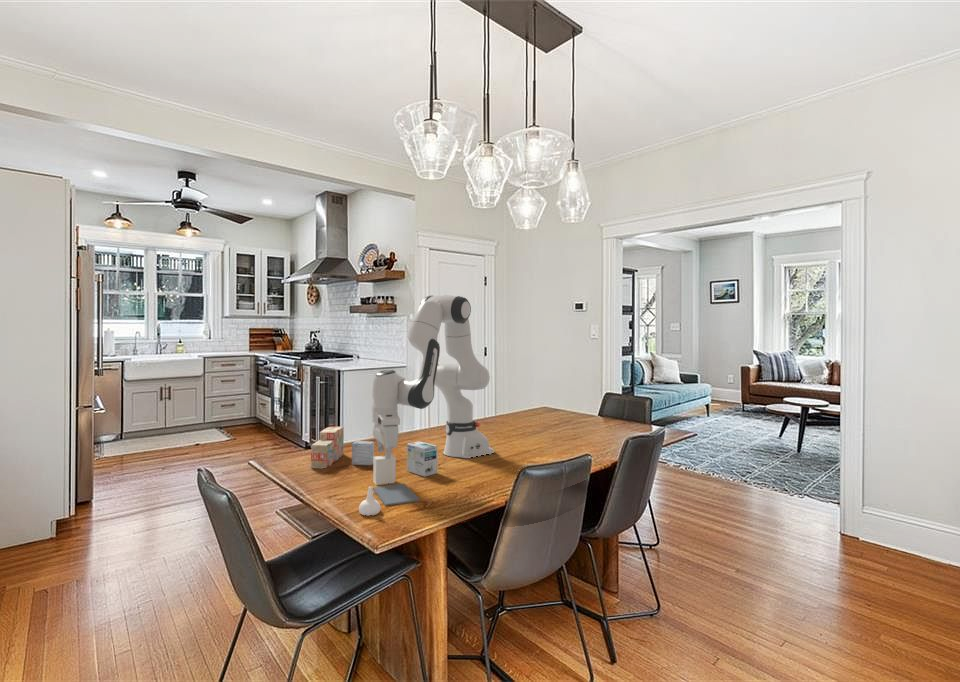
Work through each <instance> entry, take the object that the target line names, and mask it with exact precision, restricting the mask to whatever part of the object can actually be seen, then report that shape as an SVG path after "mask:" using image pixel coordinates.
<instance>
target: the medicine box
mask: <svg viewBox="0 0 960 682" xmlns="http://www.w3.org/2000/svg"><path fill="white" fill-rule="evenodd" d="M373 457H375V442H374V441H366V440H364V441H363V440H359V441H358V440H356V441H354V442H353V443H351V465H352V466H353V465H354V466H355V465H356V466H373Z"/></svg>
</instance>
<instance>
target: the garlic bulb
mask: <svg viewBox="0 0 960 682" xmlns="http://www.w3.org/2000/svg"><path fill="white" fill-rule="evenodd" d="M366 494H367V496H366V499H364V500H362V501H361V503H360V504H359V505H358V506H359V507H358V512H359V514H361V515H362V516H365V515H366V516H368V517H371V516H370V515H372V516H375V515H378V514H379V513H380V511H381V504H380V502H379V500H376V499H375V497H374V490H373V486H368V490H367V493H366Z"/></svg>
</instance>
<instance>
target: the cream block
mask: <svg viewBox="0 0 960 682" xmlns="http://www.w3.org/2000/svg"><path fill="white" fill-rule="evenodd" d="M396 460H397V457H396V456H395V455H394V454H391V458H390V459H386V458H385V455H380V456H379V455H378V456H377V455H376V456H374V457H373V464H372V466H373V467H372V469H373V470H372V471H373V475H372V476H373V477H372V480H373V483H374V485H375V486H379V485H381V486H382V485H388V483H389V484H396V483H395V482H396V481H397V480H396V479H397V478H396V477H397V476H396V475H397V474H396V471H397V470H396V469H397V468H396V467H397V466H396V465H397V463H396Z"/></svg>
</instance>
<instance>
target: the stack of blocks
mask: <svg viewBox="0 0 960 682" xmlns="http://www.w3.org/2000/svg"><path fill="white" fill-rule="evenodd" d="M344 437H345V436H344V426H328V427H326V428H324V429H322V430H321V431H319V439H318V440H317V441H315V442H314V443H312V444H311V452H310V469H323V468H326V469H328V468H329V467H330V466H332V465H333V464H334V463H335V462H336V461H337V460H339V459H340V458H341V457H342V456H344V439H345V438H344ZM340 456H341V457H340ZM339 457H340V458H339ZM334 461H335V462H334ZM333 462H334V463H333ZM332 463H333V464H332ZM328 466H329V467H328ZM327 467H328V468H327Z"/></svg>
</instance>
